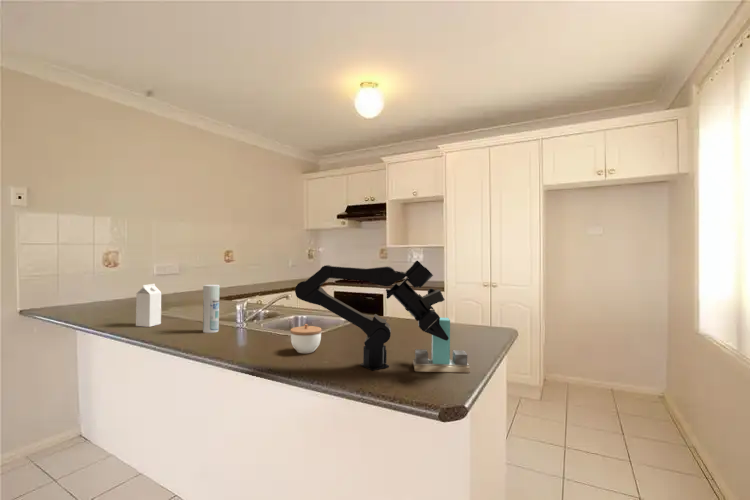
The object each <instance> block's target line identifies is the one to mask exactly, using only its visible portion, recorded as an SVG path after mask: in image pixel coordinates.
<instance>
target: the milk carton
mask: <svg viewBox="0 0 750 500" xmlns="http://www.w3.org/2000/svg"><path fill="white" fill-rule="evenodd" d="M135 295H136V299H135V300H136V301H135V302H136V304H135V305H136V306H135V311H136V312H135V327H147V328H149V327H154V326H158V325H161V324H162V291H161V290H160V289H159V288H158V287H157V286H156V283H149V284H142V288H140V290H139V291H138V292H136V294H135Z"/></svg>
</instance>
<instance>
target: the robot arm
mask: <svg viewBox="0 0 750 500" xmlns="http://www.w3.org/2000/svg"><path fill="white" fill-rule="evenodd" d="M433 277H434V274H433V273H432V272H431V271H430V270H429V269H428V268H427V267H426V266H424V265H423V264H422V263H421V262H420V261H419V260H415V261H414V262H413V264H412V265H411V266H410V267H409V268H408V269H407V270H406V271H399V270H398V271H397V270H395V269H394V268H393V267H391V266H389V265H388V266H387V265H386V266H377V267H370V268H366V267H365V268H363V267H349V266H348V267H347V266H334V265H331V264H330V265H329V264H327V265H324V266H323V265H322V267H321V268H320V269H319V270H317V272H315V273H314V274H313V275H311V276H310V277H309V278H308V279H306V280H303V281H300V282H297V284H296V286H295V288H294V292H295V296H296V297H297V299H298V300H301V301H303V302H306V303H309V304H313V305H317V306H321V307H322V308H324V309H326V310H328V311H330V313H333V314H335V315H337V316H338V317H340V318H342V319H343V320H345V321H347V322H348V323H350V324H353V325H354V326H356V327H358V328H359V329H361V330H362V332H364V334H365V335H366V336H365V339H364V342H363V344H364V346H363V354H362V355H363V358H362V359H363V362H361V363H360V365H359V366H361V367H363V368H366V369H368V370H370V371H377V370H380V369H381V370H382V369H385V368H389V364H387V348H386V347H387V345H385V344H386V343H387V342H388V341H389V340H390V338H391V333H392V331H391V330H392V328H391V325H390V324H389V323H388V322H387V318H382V317H381V316H379V314H376V313H375V314H374V315H373V317H372V316H368V315H366V314H364V313H362V312H361V311H358V310H357V309H355V308H353V307H352V306H350V305H348V304H346V303H344V302H343V301H341V300H339V299H337V298H336V297H334V296H332V295H331V294H328V293H327V291H326V290H324V288H323V287H322V286H323V285H324V284H325V283H326V282H327V281H328V280H329V279H338V280H349V281H350V280H352V281H364V282H365V281H366V282H369V283H372V284H375V285H379V286H383V287H391V286H392V287H391V288H390V289H389V288H386V289H385V292H386V297H385V298H386V299H388V300H389V298H391V297H392V296H393V297H394V298H395V299H396V300H397V302H399V303H400V304H401V306H403V307H404V309H405V311H406V312H408V313H409V314H410V315H411V316H412V317H413V318H414V320H415V321H416V322H417V325H418V327H419V329H420V330H421V331H422V332H424V333H427V334H429V335H431V336H432V335H434V336H436V337H439V338H441V339H443V340H446V341H447V340H448V339H449V338H448V336H447V335H446V333H445V332H444V330H443V329H442V327H441V326H440V324H439V322H440V318H441V317H440V315H439V314H438V313H437V312H436V311H435V308H434V307H433V306H434V305H436V304H438V303H442V302H444V301H445V298H444V297H445V296H444V294H443V293H442V291H441V289H436V290H435V289H434V288H433V287H431V288H429V289H427V294H424V295H421V294H418V293H417V292H416V291H415V290H414V289H416V288H419V289H421V288H422V287H423V286H425V284H426V283H427V282H429V281H430V279H432V278H433ZM403 279H404V280H403ZM399 281H401V283H399V284H398V283H395V282H399ZM412 287H413V288H414V289H413V288H412Z"/></svg>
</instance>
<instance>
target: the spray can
mask: <svg viewBox="0 0 750 500" xmlns="http://www.w3.org/2000/svg"><path fill="white" fill-rule="evenodd" d="M202 288H203V289H202V298H203V299H202V305H203V306H202V332H203V333H204V334H213V333H218V332H219V331H220V288H221V287H220V284H203V285H202Z"/></svg>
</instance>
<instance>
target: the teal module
mask: <svg viewBox="0 0 750 500" xmlns="http://www.w3.org/2000/svg"><path fill="white" fill-rule="evenodd" d="M439 324H440V326H441V327H442V329H443V330H444V332H445V333H446V335H447V336H448V338H449V339H448V340H447V341H446V340H443V339H441V338H439V337H436V336H434V335H432V334H431V359H432V363H433V364H450V360H451V320H450V318H449V317H440V322H439Z"/></svg>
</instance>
